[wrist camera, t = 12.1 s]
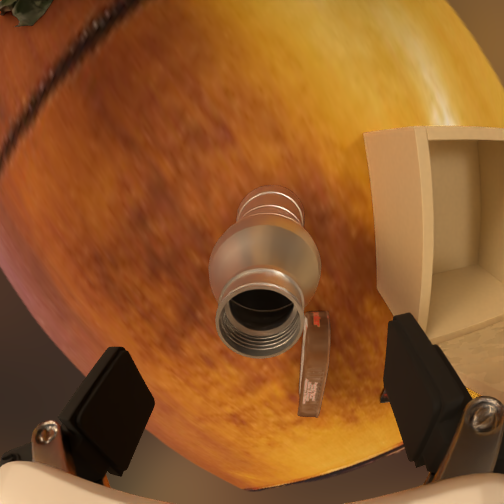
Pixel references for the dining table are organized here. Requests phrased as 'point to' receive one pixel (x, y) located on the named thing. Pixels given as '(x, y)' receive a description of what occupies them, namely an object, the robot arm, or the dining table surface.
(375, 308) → the dining table surface
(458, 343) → the bin lid
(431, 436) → the robot arm
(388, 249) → the bin
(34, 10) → the rose bouquet
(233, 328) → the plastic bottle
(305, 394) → the tin
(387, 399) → the matchbox
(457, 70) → the dining table surface
